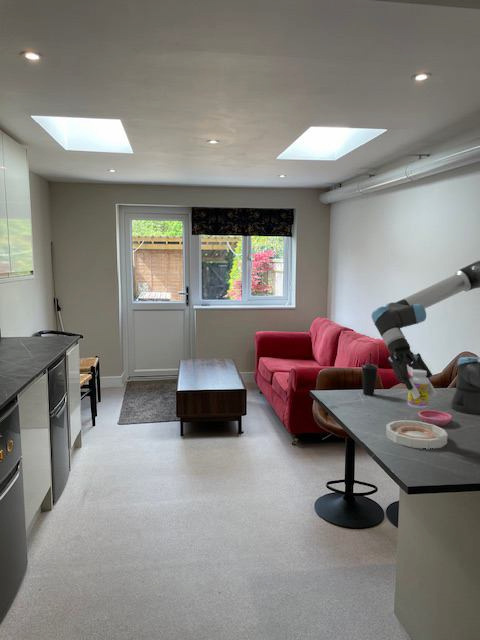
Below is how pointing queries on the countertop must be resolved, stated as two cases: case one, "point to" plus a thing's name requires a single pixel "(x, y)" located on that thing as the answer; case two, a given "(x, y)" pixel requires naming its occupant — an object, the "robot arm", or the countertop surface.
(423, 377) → the supplement bottle
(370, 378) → the drinking cup
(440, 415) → the saucer
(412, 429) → the ceramic tray
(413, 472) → the countertop surface
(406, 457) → the countertop surface
